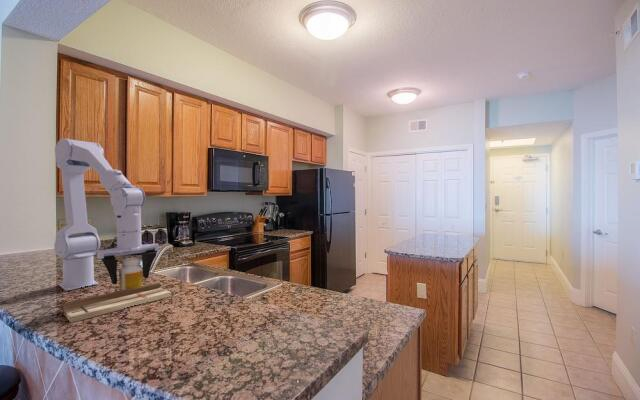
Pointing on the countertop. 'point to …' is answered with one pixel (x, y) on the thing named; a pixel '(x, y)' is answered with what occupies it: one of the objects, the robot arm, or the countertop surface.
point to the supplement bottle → (130, 274)
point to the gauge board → (113, 301)
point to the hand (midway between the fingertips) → (130, 280)
